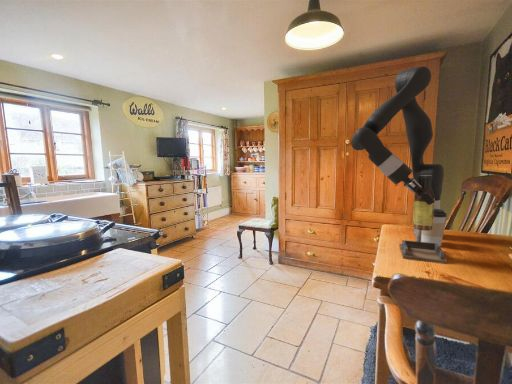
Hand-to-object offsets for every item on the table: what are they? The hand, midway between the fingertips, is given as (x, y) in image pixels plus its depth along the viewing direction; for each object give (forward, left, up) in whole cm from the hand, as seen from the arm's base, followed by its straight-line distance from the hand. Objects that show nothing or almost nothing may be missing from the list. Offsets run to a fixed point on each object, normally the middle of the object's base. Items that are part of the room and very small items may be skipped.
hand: (429, 201), depth 90 cm
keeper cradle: (0, -2, -20) cm, 21 cm away
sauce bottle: (0, -2, -10) cm, 11 cm away
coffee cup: (-16, +4, -21) cm, 27 cm away
